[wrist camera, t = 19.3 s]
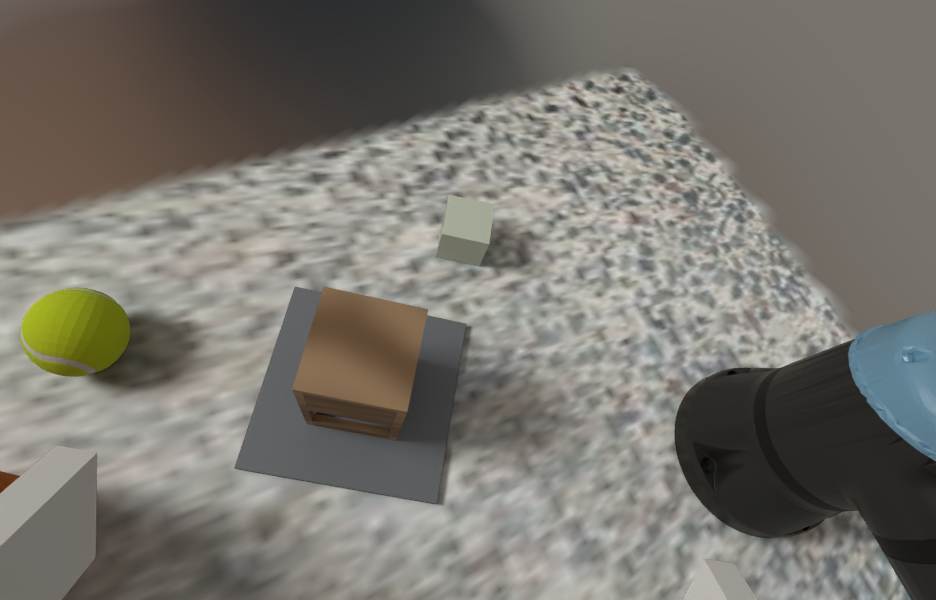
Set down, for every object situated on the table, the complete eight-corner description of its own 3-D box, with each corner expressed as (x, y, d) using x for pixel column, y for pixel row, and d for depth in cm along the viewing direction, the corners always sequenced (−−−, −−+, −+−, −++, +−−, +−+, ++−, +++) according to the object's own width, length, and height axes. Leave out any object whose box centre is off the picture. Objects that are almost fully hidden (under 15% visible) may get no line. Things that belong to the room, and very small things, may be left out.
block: (479, 266, 53) (489, 244, 49) (435, 257, 52) (441, 233, 48) (484, 229, 55) (494, 204, 51) (442, 220, 54) (449, 194, 50)
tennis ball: (34, 380, 41) (-22, 352, 35) (69, 302, 44) (24, 265, 38) (125, 392, 42) (87, 367, 36) (155, 315, 45) (124, 280, 39)
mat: (435, 504, 43) (436, 503, 42) (235, 468, 41) (234, 467, 40) (465, 325, 50) (466, 323, 49) (295, 289, 48) (294, 286, 47)
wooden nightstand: (395, 440, 44) (407, 411, 34) (306, 423, 43) (291, 389, 33) (412, 357, 47) (428, 309, 37) (330, 340, 46) (323, 286, 36)
